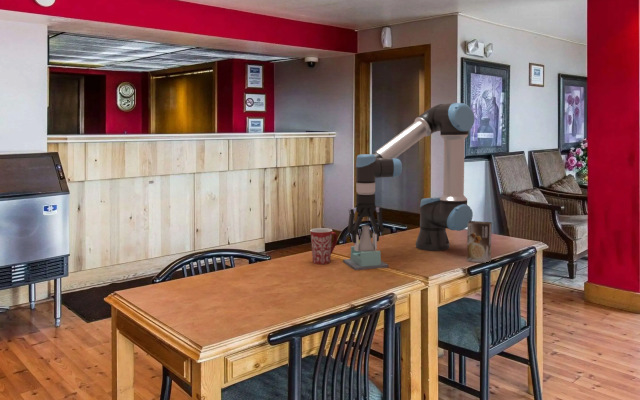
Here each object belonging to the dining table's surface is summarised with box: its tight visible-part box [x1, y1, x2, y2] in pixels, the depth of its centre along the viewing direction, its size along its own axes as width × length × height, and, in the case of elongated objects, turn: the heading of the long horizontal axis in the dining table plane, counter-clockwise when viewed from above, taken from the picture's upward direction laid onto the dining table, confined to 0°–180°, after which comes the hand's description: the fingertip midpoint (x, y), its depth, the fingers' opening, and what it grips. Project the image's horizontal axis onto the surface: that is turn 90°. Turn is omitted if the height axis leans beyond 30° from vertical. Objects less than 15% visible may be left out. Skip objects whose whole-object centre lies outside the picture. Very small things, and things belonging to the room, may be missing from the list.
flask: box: [358, 225, 376, 252], centre depth 224 cm, size 7×7×10 cm
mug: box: [309, 227, 338, 265], centre depth 230 cm, size 13×9×14 cm
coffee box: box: [466, 220, 493, 264], centre depth 230 cm, size 9×6×16 cm
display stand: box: [342, 245, 389, 271], centre depth 225 cm, size 14×14×6 cm
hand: (365, 249), depth 225 cm, fingers closed on flask, 7 cm apart
